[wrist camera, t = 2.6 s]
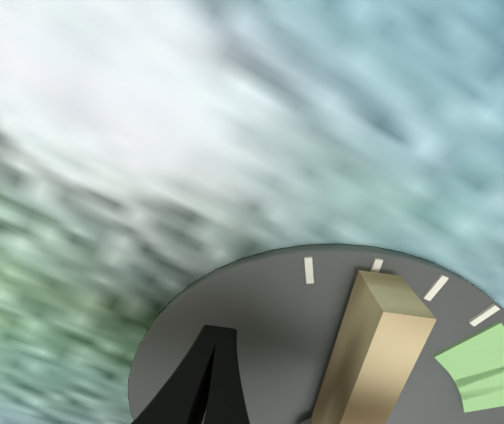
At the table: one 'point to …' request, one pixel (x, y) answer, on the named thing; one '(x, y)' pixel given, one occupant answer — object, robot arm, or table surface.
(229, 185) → the table surface
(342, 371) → the pointer
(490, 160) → the table surface
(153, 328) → the dial
